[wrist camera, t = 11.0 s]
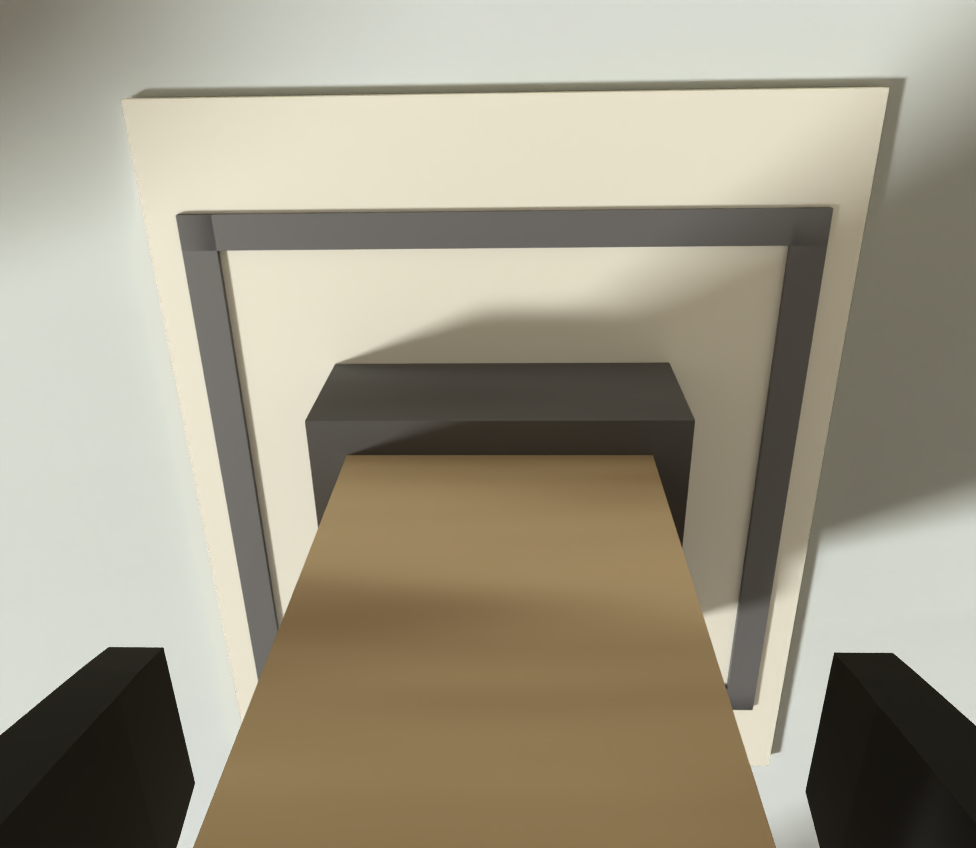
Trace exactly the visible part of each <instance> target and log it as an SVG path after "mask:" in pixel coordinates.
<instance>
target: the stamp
mask: <svg viewBox="0 0 976 848" xmlns="http://www.w3.org/2000/svg"><path fill="white" fill-rule="evenodd" d="M305 427H306V435H307V443H308V451H309V459H310V467H311V475H312V483H313V491H314V499H315V507H316V515H317V523H318V530H317V533H316V535H315V538H314V540H313V543H312V545H311V548H310V550H309V553H308V556H307V558H306V561H305V563H304V566H303V568H302V571H301V573H300V576H299V579H298V581H297V584H296V586H295V589H294V591H293V594H292V596H291V599H290V602H289V604H288V607H287V609H286V612H285V614H284V617H283V619H282V622H281V625H280V627H279V630H278V632H277V635H276V637H275V640H274V642H273V645H272V648H271V650H270V653H269V655H268V658H267V660H266V663H265V665H264V668H263V671H262V673H261V676H260V678H259V681H258V683H257V686H256V688H255V691H254V693H253V696H252V699H251V701H250V704H249V706H248V709H247V711H246V714H245V716H244V719H243V722H242V724H241V727H240V729H239V732H238V734H237V737H236V739H235V742H234V745H233V747H232V750H231V752H230V755H229V757H228V760H227V762H226V765H225V768H224V770H223V773H222V775H221V778H220V780H219V783H218V785H217V788H216V791H215V793H214V796H213V798H212V801H211V803H210V806H209V808H208V811H207V814H206V816H205V819H204V821H203V824H202V826H201V829H200V831H199V834H198V837H197V839H196V842H195V844H194V847H193V848H776V846H775V843H774V840H773V837H772V834H771V830H770V827H769V824H768V821H767V818H766V814H765V811H764V808H763V805H762V802H761V799H760V795H759V792H758V789H757V786H756V783H755V779H754V776H753V773H752V770H751V767H750V763H749V760H748V757H747V754H746V751H745V747H744V744H743V741H742V738H741V735H740V732H739V728H738V725H737V722H736V719H735V716H734V712H733V709H732V706H731V703H730V700H729V696H728V693H727V690H726V687H725V684H724V680H723V677H722V674H721V671H720V668H719V665H718V661H717V658H716V655H715V652H714V649H713V645H712V642H711V639H710V636H709V633H708V629H707V626H706V623H705V620H704V617H703V614H702V610H701V607H700V604H699V601H698V598H697V594H696V591H695V588H694V585H693V582H692V578H691V575H690V572H689V569H688V566H687V562H686V559H685V556H684V553H683V550H682V546H683V536H684V527H685V517H686V507H687V497H688V487H689V477H690V467H691V457H692V447H693V437H694V427H695V419H694V417H693V414H692V412H691V410H690V408H689V405H688V403H687V401H686V399H685V396H684V394H683V392H682V390H681V387H680V385H679V383H678V381H677V378H676V376H675V374H674V372H673V370H672V367H671V365H670V363H669V362H655V363H408V364H335V365H334V367H333V369H332V371H331V373H330V374H329V376H328V378H327V380H326V382H325V384H324V386H323V388H322V390H321V391H320V393H319V395H318V397H317V399H316V401H315V403H314V405H313V407H312V408H311V410H310V412H309V414H308V416H307V418H306V420H305Z"/></svg>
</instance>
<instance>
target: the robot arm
mask: <svg viewBox="0 0 976 848" xmlns="http://www.w3.org/2000/svg"><path fill="white" fill-rule="evenodd" d="M194 785H195V781H194V777H193V773H192V768H191V764H190V760H189V756H188V751H187V747H186V743H185V738H184V734H183V730H182V726H181V721H180V717H179V713H178V708H177V704H176V700H175V695H174V691H173V687H172V683H171V678H170V674H169V670H168V665H167V661H166V657H165V653H164V648H145V647H108V648H107V649H106V650H104V651H103V652H102V653H100V654H99V655H98V656H97V657H95V658H94V659H93V660H91V661H90V662H89V663H88V664H86V665H85V666H84V667H82V668H81V669H80V670H79V671H78V672H76V673H75V674H74V675H73V676H71V677H70V678H69V679H68V680H67V681H65V682H64V683H63V684H62V685H60V686H59V687H58V688H57V689H56V690H54V691H53V692H52V693H51V694H50V695H48V696H47V697H46V698H45V699H43V700H42V701H41V702H40V703H39V704H37V705H36V706H35V707H34V708H33V709H31V710H30V711H29V712H28V713H27V714H25V715H24V716H23V717H22V718H21V719H19V720H18V721H17V722H16V723H15V724H13V725H12V726H11V727H10V728H9V729H7V730H6V731H5V732H4V733H2V734H1V735H0V848H176V847H177V844H178V841H179V837H180V834H181V831H182V827H183V824H184V820H185V817H186V813H187V810H188V806H189V803H190V799H191V796H192V792H193V789H194ZM806 795H807V799H808V803H809V807H810V811H811V815H812V819H813V822H814V826H815V830H816V834H817V838H818V842H819V846H820V848H976V726H975V725H974V724H973V723H972V722H971V721H970V720H969V719H968V718H966V717H965V716H964V715H963V714H962V713H961V712H960V711H959V710H957V709H956V708H955V707H954V706H953V705H952V704H951V703H950V702H948V701H947V700H946V699H945V698H944V697H943V696H942V695H941V694H940V693H938V692H937V691H936V690H935V689H934V688H933V687H932V686H930V685H929V684H928V683H927V682H926V681H925V680H924V679H923V678H921V677H920V676H919V675H918V674H917V673H916V672H915V671H913V670H912V669H911V668H910V667H909V666H908V665H906V664H905V663H904V662H903V661H902V660H900V659H899V658H898V657H897V656H896V655H894V654H893V653H834V656H833V661H832V666H831V670H830V675H829V680H828V685H827V690H826V695H825V700H824V704H823V709H822V714H821V719H820V724H819V729H818V733H817V738H816V743H815V748H814V753H813V758H812V763H811V767H810V772H809V777H808V782H807V787H806Z"/></svg>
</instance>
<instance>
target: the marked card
mask: <svg viewBox="0 0 976 848" xmlns="http://www.w3.org/2000/svg"><path fill="white" fill-rule="evenodd" d="M888 93H889V88H888V87H833V88H768V89H703V90H638V91H572V92H507V93H442V94H377V95H312V96H246V97H181V98H126V99H121V104H122V109H123V114H124V119H125V124H126V130H127V135H128V140H129V145H130V150H131V155H132V161H133V166H134V171H135V176H136V181H137V186H138V191H139V197H140V202H141V207H142V212H143V217H144V222H145V228H146V233H147V238H148V243H149V248H150V253H151V259H152V264H153V269H154V274H155V279H156V284H157V289H158V295H159V300H160V305H161V310H162V315H163V320H164V326H165V331H166V336H167V341H168V346H169V351H170V357H171V362H172V367H173V372H174V377H175V382H176V387H177V393H178V398H179V403H180V408H181V413H182V418H183V424H184V429H185V434H186V439H187V444H188V449H189V455H190V460H191V465H192V470H193V475H194V480H195V486H196V491H197V496H198V501H199V506H200V511H201V516H202V522H203V527H204V532H205V537H206V542H207V547H208V553H209V558H210V563H211V568H212V573H213V578H214V584H215V589H216V594H217V599H218V604H219V609H220V614H221V620H222V625H223V630H224V635H225V640H226V645H227V651H228V656H229V661H230V666H231V671H232V676H233V682H234V687H235V692H236V697H237V702H238V707H239V712H240V718H241V723H242V722H243V719H244V716H245V714H246V711H247V709H248V706H249V704H250V701H251V699H252V696H253V693H254V691H255V688H256V686H257V683H258V681H259V678H260V676H261V673H262V671H263V668H264V665H265V663H266V660H267V658H268V655H269V653H270V650H271V648H272V645H273V642H274V640H275V637H276V635H277V632H278V630H279V627H280V625H281V622H282V619H283V617H284V614H285V612H286V609H287V607H288V604H289V602H290V599H291V596H292V594H293V591H294V589H295V586H296V584H297V581H298V579H299V576H300V573H301V571H302V568H303V566H304V563H305V561H306V558H307V556H308V553H309V550H310V548H311V545H312V543H313V540H314V538H315V535H316V533H317V530H318V523H317V515H316V507H315V499H314V491H313V483H312V475H311V467H310V459H309V451H308V443H307V435H306V427H305V420H306V418H307V416H308V414H309V412H310V410H311V408H312V407H313V405H314V403H315V401H316V399H317V397H318V395H319V393H320V391H321V390H322V388H323V386H324V384H325V382H326V380H327V378H328V376H329V374H330V373H331V371H332V369H333V367H334V365H335V364H408V363H655V362H669V363H670V365H671V367H672V370H673V372H674V374H675V376H676V378H677V381H678V383H679V385H680V387H681V390H682V392H683V394H684V396H685V399H686V401H687V403H688V405H689V408H690V410H691V412H692V414H693V417H694V419H695V427H694V437H693V447H692V457H691V467H690V477H689V487H688V497H687V507H686V517H685V527H684V536H683V546H682V550H683V553H684V556H685V559H686V562H687V566H688V569H689V572H690V575H691V578H692V582H693V585H694V588H695V591H696V594H697V598H698V601H699V604H700V607H701V610H702V614H703V617H704V620H705V623H706V626H707V629H708V633H709V636H710V639H711V642H712V645H713V649H714V652H715V655H716V658H717V661H718V665H719V668H720V671H721V674H722V677H723V680H724V684H725V687H726V690H727V693H728V696H729V700H730V703H731V706H732V709H733V712H734V716H735V719H736V722H737V725H738V728H739V732H740V735H741V738H742V741H743V744H744V747H745V751H746V754H747V757H748V760H749V763H750V766H768V765H769V760H770V754H771V748H772V743H773V737H774V732H775V726H776V720H777V715H778V709H779V704H780V698H781V692H782V687H783V681H784V676H785V670H786V664H787V659H788V653H789V648H790V642H791V636H792V631H793V625H794V620H795V614H796V608H797V603H798V597H799V592H800V586H801V580H802V575H803V569H804V564H805V558H806V552H807V547H808V541H809V536H810V530H811V524H812V519H813V513H814V508H815V502H816V496H817V491H818V485H819V480H820V474H821V468H822V463H823V457H824V452H825V446H826V440H827V435H828V429H829V424H830V418H831V412H832V407H833V401H834V396H835V390H836V384H837V379H838V373H839V368H840V362H841V356H842V351H843V345H844V340H845V334H846V328H847V323H848V317H849V312H850V306H851V300H852V295H853V289H854V284H855V278H856V272H857V267H858V261H859V256H860V250H861V244H862V239H863V233H864V228H865V222H866V216H867V211H868V205H869V200H870V194H871V188H872V183H873V177H874V172H875V166H876V160H877V155H878V149H879V144H880V138H881V132H882V127H883V121H884V116H885V110H886V104H887V99H888Z"/></svg>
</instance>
